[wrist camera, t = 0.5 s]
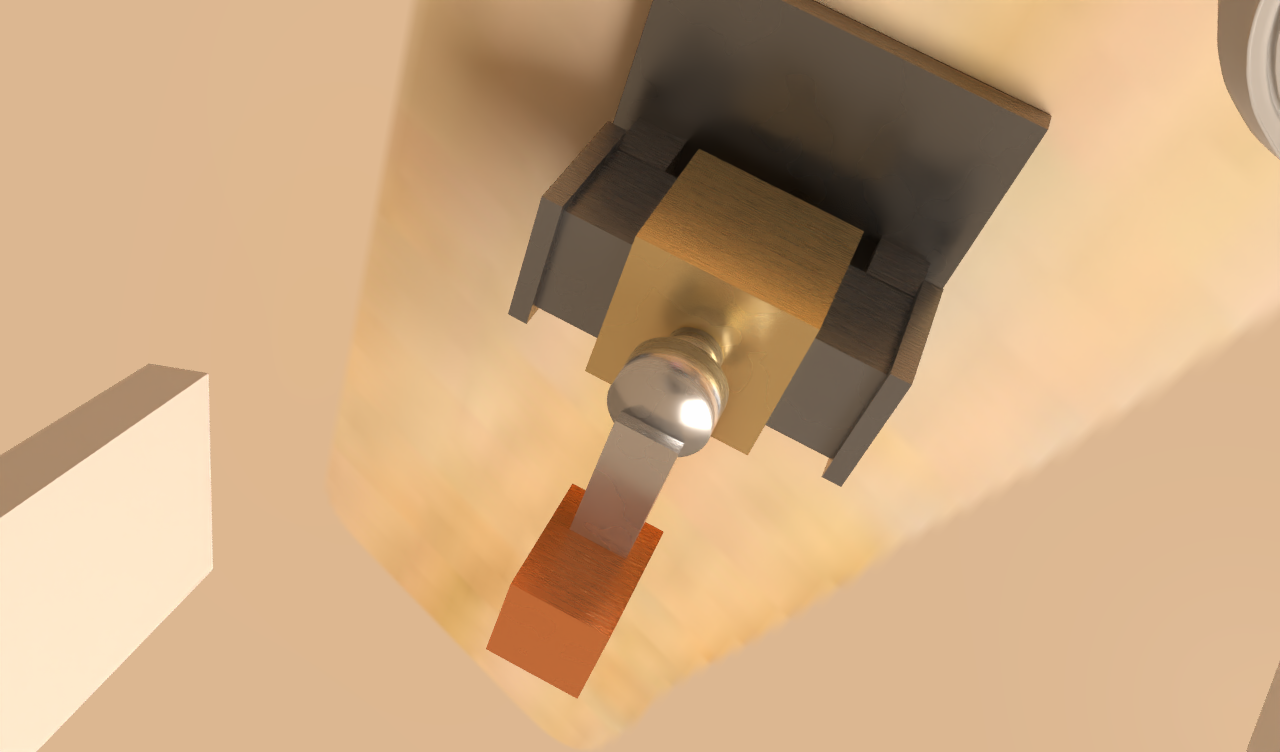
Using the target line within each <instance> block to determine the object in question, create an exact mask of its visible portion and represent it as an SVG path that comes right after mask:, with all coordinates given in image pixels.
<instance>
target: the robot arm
mask: <svg viewBox="0 0 1280 752" xmlns="http://www.w3.org/2000/svg"><path fill="white" fill-rule="evenodd" d="M209 423H210V420H209V377H208V373H203V372H197V371H190V370H185V369H179V368H172V367H166V366H160V365H153V364H148V365H146V366H145V367H143V368H141V369H140V370H138V371H136V372H135V373H133V374H132V375H130V376H128V377H127V378H125V379H123V380H122V381H120V382H119V383H117V384H115V385H114V386H112V387H111V388H109V389H107V390H106V391H104V392H102V393H101V394H99V395H97V396H96V397H94V398H93V399H91V400H89V401H88V402H86V403H85V404H83V405H81V406H80V407H78V408H76V409H75V410H73V411H72V412H70V413H68V414H67V415H65V416H64V417H62V418H60V419H59V420H57V421H55V422H54V423H52V424H51V425H49V426H47V427H46V428H44V429H42V430H41V431H39V432H37V433H36V434H34V435H33V436H31V437H29V438H28V439H26V440H25V441H23V442H21V443H20V444H18V445H16V446H15V447H13V448H12V449H10V450H8V451H7V452H5V453H3V454H2V455H0V752H36V751H37V750H38V749H39V748H40V747H41V746H42V745H43V744H44V743H45V742H46V741H47V740H48V739H49V738H50V737H51V736H52V735H53V734H54V733H55V732H56V731H57V730H58V729H59V728H60V727H61V726H62V725H63V724H64V723H65V721H66V720H67V719H68V718H69V717H70V716H71V715H72V714H73V713H74V712H75V711H76V710H77V709H78V708H79V707H80V706H81V705H82V704H83V703H84V702H85V701H86V700H87V699H88V698H89V697H90V696H91V695H92V693H94V691H95V690H96V689H97V688H98V687H99V686H100V685H101V684H102V683H103V682H104V681H105V680H106V679H107V678H108V677H109V676H110V675H111V674H112V673H113V672H114V671H115V670H116V669H117V668H118V667H119V666H120V665H121V664H122V663H123V661H124V660H125V659H126V658H127V657H128V656H129V655H130V654H131V653H132V652H133V651H134V650H135V649H136V648H137V647H138V646H139V645H140V644H141V643H142V642H143V641H144V640H145V639H146V638H147V637H148V636H149V635H150V634H151V632H152V631H154V629H155V628H156V627H157V626H158V625H159V624H160V623H161V622H162V621H163V620H164V619H165V618H166V617H167V616H168V615H169V614H170V613H171V612H172V611H173V610H174V609H175V608H176V606H178V605H179V604H180V603H181V602H182V601H183V600H184V598H185V597H186V596H187V595H188V594H189V593H190V592H191V591H192V590H193V589H194V588H195V587H196V586H197V585H198V584H199V583H200V582H201V581H202V580H203V579H204V578H205V577H206V576H207V575H208V574H209V573H210V571H212V570H213V553H212V513H211V512H212V508H211V466H210V424H209ZM1247 752H1280V662H1279V665H1278V668H1277V670H1276V673H1275V676H1274V679H1273V681H1272V684H1271V687H1270V689H1269V692H1268V694H1267V697H1266V700H1265V703H1264V705H1263V708H1262V710H1261V713H1260V716H1259V719H1258V721H1257V724H1256V726H1255V729H1254V732H1253V734H1252V737H1251V740H1250V742H1249V745H1248V748H1247Z"/></svg>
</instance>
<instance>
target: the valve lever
mask: <svg viewBox="0 0 1280 752" xmlns="http://www.w3.org/2000/svg"><path fill="white" fill-rule="evenodd" d="M728 398H729V385H728V382H727V378H726V376H725V374H724V372H723V370H722V368H721V367H720V366H719V364H718V363H717V362H716V361H715V360H714V359H713V358H712V357H711V356H710V355H709V354H708V353H707V352H705V351H704V350H703V349H701V348H699V347H698V346H696V345H694V344H692V343H690V342H687V341H684V340H681V339H677V338H671V337H658V338H653V339H649V340H647V341H644V342H643V343H641V344H639V345H638V346H637V347H636V348H635V349H634V351H633V352H632V353H631V355H630V357H629V358H628V360H627V361H626V363H625V364H624V366H623V367H622V369H621V371H620V372H619V374H618V375H617V377H616V378H615V380H614V382H613V383H612V385H611V387H610V389H609V391H608V396H607V405H608V410H609V413H610V416H611V418H612V420H613V422H614V425H613V427H612V430H611V432H610V435H609V437H608V439H607V442H606V444H605V446H604V449H603V451H602V453H601V456H600V458H599V460H598V463H597V465H596V468H595V470H594V472H593V475H592V477H591V479H590V482H589V484H588V486H587V489H586V491H585V490H584V489H582V488H580V487H578V486H576V485H574V484H572V485H571V487H570V489H569V490H568V492H567V494H566V495H565V497H564V498H563V500H562V502H561V503H560V505H559V507H558V508H557V510H556V511H555V513H554V515H553V516H552V518H551V520H550V521H549V523H548V524H547V526H546V528H545V529H544V531H543V533H542V534H541V536H540V537H539V539H538V541H537V542H536V544H535V546H534V547H533V549H532V550H531V552H530V554H529V555H528V557H527V559H526V560H525V562H524V563H523V565H522V567H521V568H520V570H519V572H518V573H517V575H516V576H515V578H514V580H513V581H512V583H511V585H510V588H509V590H508V593H507V595H506V598H505V601H504V603H503V606H502V608H501V611H500V614H499V616H498V619H497V622H496V624H495V627H494V629H493V632H492V635H491V637H490V640H489V643H488V645H487V648H486V649H487V650H489V651H491V652H493V653H494V654H496V655H498V656H500V657H502V658H504V659H505V660H507V661H509V662H511V663H513V664H515V665H516V666H518V667H520V668H522V669H524V670H526V671H527V672H529V673H531V674H533V675H535V676H537V677H538V678H540V679H542V680H544V681H546V682H548V683H549V684H551V685H553V686H555V687H557V688H559V689H561V690H562V691H564V692H566V693H568V694H570V695H572V696H573V697H575V698H578V696H579V695H580V693H581V691H582V689H583V687H584V685H585V683H586V681H587V680H588V678H589V676H590V674H591V672H592V670H593V668H594V666H595V665H596V663H597V661H598V659H599V657H600V655H601V653H602V651H603V650H604V648H605V646H606V644H607V642H608V640H609V638H610V636H611V634H612V632H613V630H614V628H615V626H616V625H617V623H618V621H619V619H620V617H621V615H622V613H623V611H624V609H625V607H626V605H627V603H628V601H629V599H630V597H631V595H632V593H633V591H634V589H635V587H636V585H637V583H638V581H639V579H640V577H641V575H642V573H643V571H644V569H645V568H646V566H647V564H648V562H649V560H650V558H651V556H652V554H653V552H654V550H655V548H656V546H657V544H658V542H659V540H660V538H661V536H662V534H663V531H661V530H659V529H657V528H655V527H654V526H652V525H650V524H648V523H646V522H645V521H646V519H647V517H648V515H649V513H650V511H651V509H652V507H653V505H654V503H655V501H656V499H657V497H658V495H659V493H660V491H661V489H662V487H663V486H664V484H665V482H666V480H667V478H668V476H669V474H670V472H671V470H672V468H673V466H674V464H675V462H676V460H677V458H678V457H684V456H688V455H691V454H694V453H696V452H698V451H699V450H701V449H702V448H703V447H704V446H705V445H706V443H707V442H708V440H709V438H710V436H711V434H712V432H713V430H714V428H715V426H716V424H717V422H718V420H719V418H720V416H721V414H722V412H723V411H724V409H725V407H726V404H727V402H728Z"/></svg>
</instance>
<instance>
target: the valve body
mask: <svg viewBox="0 0 1280 752" xmlns="http://www.w3.org/2000/svg"><path fill="white" fill-rule="evenodd" d="M1050 120H1051V116H1050V115H1048V114H1046V113H1044V112H1042V111H1040V110H1038V109H1036V108H1034V107H1032V106H1030V105H1028V104H1026V103H1024V102H1022V101H1020V100H1017V99H1015V98H1013V97H1011V96H1009V95H1007V94H1005V93H1003V92H1001V91H999V90H997V89H995V88H993V87H991V86H989V85H987V84H984V83H982V82H980V81H978V80H976V79H974V78H972V77H970V76H968V75H966V74H964V73H962V72H960V71H958V70H956V69H953V68H951V67H949V66H947V65H945V64H943V63H941V62H939V61H937V60H935V59H933V58H931V57H929V56H927V55H925V54H923V53H920V52H918V51H916V50H914V49H912V48H910V47H908V46H906V45H904V44H902V43H900V42H898V41H896V40H894V39H892V38H890V37H887V36H885V35H883V34H881V33H879V32H877V31H875V30H873V29H871V28H869V27H867V26H865V25H863V24H861V23H859V22H857V21H854V20H852V19H850V18H848V17H846V16H844V15H842V14H840V13H838V12H836V11H834V10H832V9H830V8H828V7H826V6H824V5H821V4H819V3H817V2H815V1H813V0H653V2H652V5H651V8H650V11H649V15H648V18H647V21H646V24H645V27H644V30H643V33H642V36H641V39H640V42H639V45H638V48H637V51H636V54H635V58H634V61H633V64H632V67H631V70H630V73H629V76H628V79H627V82H626V85H625V88H624V91H623V94H622V98H621V101H620V104H619V107H618V110H617V113H616V116H615V119H614V122H613V123H611V122H609V121H608V122H607V123H606V124H605V125H604V127H603V128H602V129H601V130H600V131H599V132H598V133H597V135H596V136H595V137H594V138H593V139H592V140H591V141H590V143H589V144H588V145H587V146H586V147H585V148H584V149H583V150H582V152H581V153H580V154H579V155H578V156H577V157H576V158H575V160H574V161H573V162H572V163H571V164H570V165H569V166H568V168H567V169H566V170H565V171H564V172H563V173H562V174H561V175H560V177H559V178H558V179H557V180H556V181H555V182H554V183H553V185H552V186H551V187H550V188H549V189H548V190H547V191H546V193H545V194H544V195H543V196H542V198H541V201H540V205H539V208H538V212H537V215H536V219H535V222H534V226H533V229H532V233H531V236H530V240H529V243H528V247H527V250H526V254H525V257H524V261H523V264H522V268H521V271H520V275H519V278H518V282H517V285H516V289H515V292H514V296H513V299H512V303H511V306H510V310H509V313H508V314H509V315H511V316H513V317H515V318H517V319H518V320H520V321H522V322H524V323H526V324H527V323H528V321H529V320H530V319H531V317H532V316H533V315H534V314H535V312H536V311H537V310H538V308H540V309H542V310H544V311H546V312H548V313H550V314H552V315H554V316H556V317H558V318H560V319H562V320H564V321H565V322H567V323H569V324H571V325H573V326H575V327H577V328H579V329H581V330H583V331H585V332H587V333H589V334H591V335H593V336H594V337H596V338H597V341H596V343H595V346H594V349H593V351H592V354H591V357H590V359H589V362H588V365H587V367H586V370H585V371H587V372H588V373H590V374H592V375H594V376H596V377H598V378H600V379H602V380H604V381H606V382H608V383H610V384H612V383H613V382H614V380H615V378H616V377H617V375H618V374H619V372H620V371H621V369H622V367H623V366H624V364H625V363H626V361H627V360H628V358H629V357H630V355H631V353H632V352H633V351H634V349H635V348H636V347H637V346H638V345H639V344H641V343H643V342H644V341H647V340H649V339H653V338H658V337H671V338H677V339H681V340H684V341H687V342H690V343H692V344H694V345H696V346H698V347H699V348H701V349H703V350H704V351H705V352H707V353H708V354H709V355H710V356H711V357H712V358H713V359H714V360H715V361H716V362H717V363H718V364H719V366H720V367H721V368H722V370H723V372H724V374H725V376H726V378H727V382H728V385H729V398H728V402H727V404H726V407H725V409H724V411H723V412H722V414H721V416H720V418H719V420H718V422H717V424H716V426H715V428H714V430H713V432H712V434H711V436H712V437H713V438H715V439H717V440H719V441H721V442H723V443H725V444H727V445H729V446H731V447H733V448H735V449H737V450H738V451H740V452H742V453H744V454H746V455H748V454H749V452H750V450H751V449H752V447H753V445H754V443H755V442H756V440H757V438H758V436H759V435H760V433H761V431H762V429H763V428H764V426H765V425H767V426H769V427H770V428H772V429H774V430H776V431H778V432H780V433H782V434H784V435H786V436H788V437H790V438H792V439H794V440H796V441H798V442H799V443H801V444H803V445H805V446H807V447H809V448H811V449H813V450H815V451H817V452H819V453H821V454H823V455H825V456H827V457H829V459H828V462H827V465H826V467H825V470H824V472H823V475H822V477H823V478H825V479H827V480H829V481H831V482H833V483H835V484H837V485H839V486H840V487H841V486H842V485H843V483H844V482H845V480H846V479H847V478H848V476H849V475H850V473H851V472H852V470H853V469H854V467H855V466H856V465H857V463H858V462H859V460H860V459H861V457H862V456H863V454H864V453H865V452H866V450H867V449H868V447H869V446H870V444H871V443H872V441H873V440H874V439H875V437H876V436H877V434H878V433H879V431H880V430H881V429H882V427H883V426H884V424H885V423H886V421H887V420H888V418H889V417H890V416H891V414H892V413H893V411H894V410H895V408H896V407H897V405H898V404H899V403H900V401H901V400H902V398H903V397H904V395H905V394H906V392H907V391H908V390H909V388H910V387H911V385H912V383H913V380H914V377H915V374H916V371H917V368H918V365H919V362H920V359H921V355H922V352H923V349H924V346H925V343H926V340H927V337H928V334H929V331H930V328H931V325H932V322H933V319H934V316H935V313H936V310H937V307H938V304H939V301H940V298H941V295H942V292H943V287H944V286H945V284H946V283H947V281H948V280H949V278H950V277H951V275H952V274H953V272H954V271H955V269H956V268H957V266H958V265H959V263H960V262H961V260H962V259H963V257H964V256H965V254H966V253H967V251H968V250H969V248H970V247H971V245H972V244H973V242H974V241H975V239H976V238H977V236H978V234H979V233H980V231H981V230H982V228H983V227H984V225H985V224H986V222H987V221H988V219H989V218H990V216H991V215H992V213H993V212H994V210H995V209H996V207H997V206H998V204H999V203H1000V201H1001V200H1002V198H1003V197H1004V195H1005V194H1006V192H1007V191H1008V189H1009V188H1010V186H1011V185H1012V183H1013V182H1014V180H1015V179H1016V177H1017V176H1018V174H1019V173H1020V171H1021V170H1022V168H1023V167H1024V165H1025V163H1026V162H1027V160H1028V159H1029V157H1030V156H1031V154H1032V153H1033V151H1034V150H1035V148H1036V147H1037V145H1038V144H1039V142H1040V141H1041V139H1042V138H1043V136H1044V135H1045V133H1046V132H1047V130H1048V127H1049V124H1050Z"/></svg>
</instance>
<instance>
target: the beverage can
mask: <svg viewBox="0 0 1280 752" xmlns="http://www.w3.org/2000/svg"><path fill="white" fill-rule="evenodd" d="M1217 42H1218V54H1219V60H1220V65H1221V70H1222V75H1223V79H1224V82H1225V85H1226V88H1227V90H1228V92H1229V94H1230V96H1231V98H1232V100H1233V102H1234V104H1235V106H1236V107H1237V109H1238V111H1239V113H1240V115H1241V116H1242V118H1243V120H1244V121H1245V123H1246V125H1247V126H1248V128H1249V129H1250V131H1251V132H1252V133H1253V135H1254V136H1255V137H1256V138H1257V139H1258V140H1259V141H1260V142H1261V143H1262V144H1263V145H1264V146H1265V147H1266V148H1267V149H1268V150H1269V151H1270V152H1272V153H1273V154H1274V155H1275V156H1276V157H1277V158H1278V159H1280V0H1218V33H1217Z"/></svg>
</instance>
